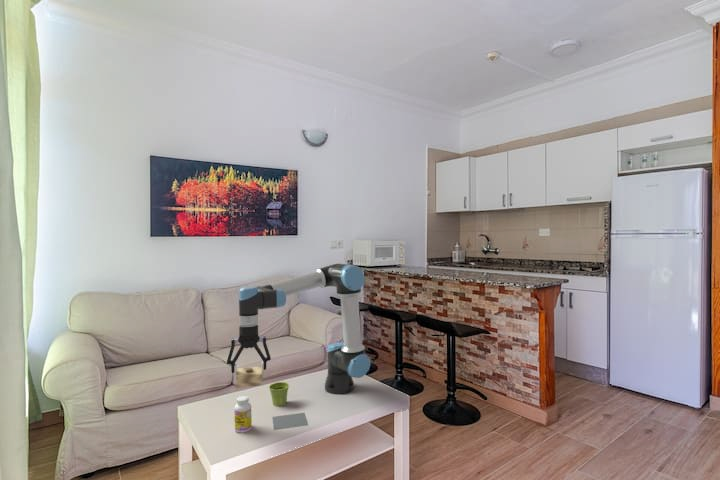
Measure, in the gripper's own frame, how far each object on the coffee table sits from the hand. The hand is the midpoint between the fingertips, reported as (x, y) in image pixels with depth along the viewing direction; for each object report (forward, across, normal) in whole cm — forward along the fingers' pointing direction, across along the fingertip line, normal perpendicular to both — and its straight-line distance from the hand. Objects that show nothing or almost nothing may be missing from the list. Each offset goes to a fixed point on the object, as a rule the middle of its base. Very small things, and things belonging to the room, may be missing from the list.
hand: (249, 378), depth 163 cm
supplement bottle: (+21, -2, 0) cm, 21 cm away
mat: (+20, +16, +1) cm, 26 cm away
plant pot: (+20, +14, +20) cm, 32 cm away
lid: (+1, 0, 0) cm, 1 cm away
